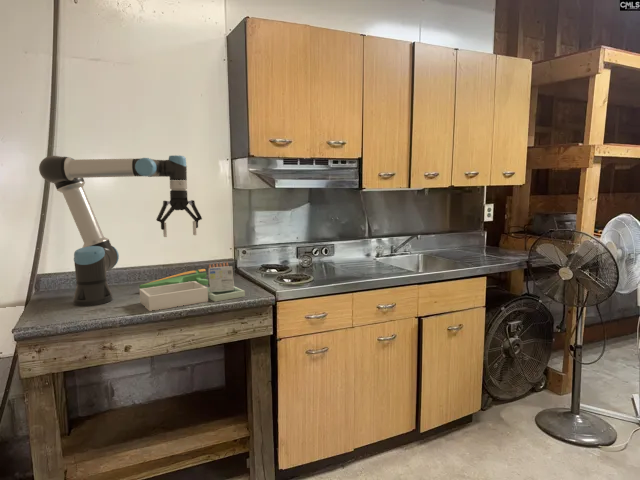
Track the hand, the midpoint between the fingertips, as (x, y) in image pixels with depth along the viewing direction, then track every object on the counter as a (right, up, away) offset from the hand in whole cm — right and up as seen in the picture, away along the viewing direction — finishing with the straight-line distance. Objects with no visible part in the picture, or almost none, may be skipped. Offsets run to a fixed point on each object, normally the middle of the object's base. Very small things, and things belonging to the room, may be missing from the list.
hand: (180, 236), depth 208 cm
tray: (+21, -27, -7) cm, 35 cm away
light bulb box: (+21, -25, -7) cm, 33 cm away
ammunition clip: (+16, -25, +9) cm, 31 cm away
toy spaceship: (-6, -25, +9) cm, 28 cm away
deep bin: (+3, -28, -17) cm, 33 cm away
